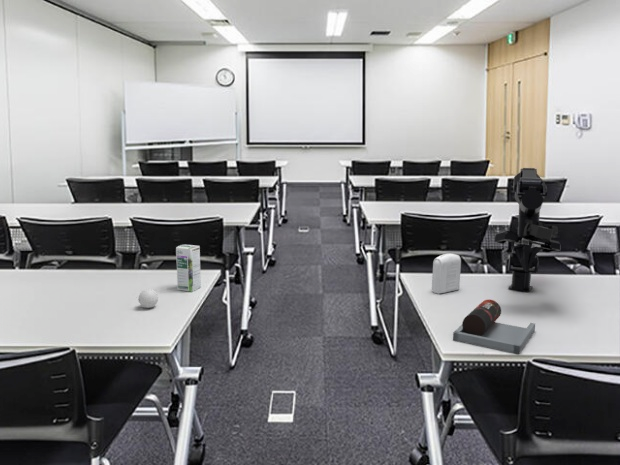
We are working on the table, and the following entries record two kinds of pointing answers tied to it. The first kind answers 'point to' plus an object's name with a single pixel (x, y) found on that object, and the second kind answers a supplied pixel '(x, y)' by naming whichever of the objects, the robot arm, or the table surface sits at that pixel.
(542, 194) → the robot arm
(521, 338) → the tray
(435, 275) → the photo printer
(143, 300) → the white bumpy ovoid
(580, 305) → the table surface
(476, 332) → the deodorant
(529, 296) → the table surface
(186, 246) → the syrup box
